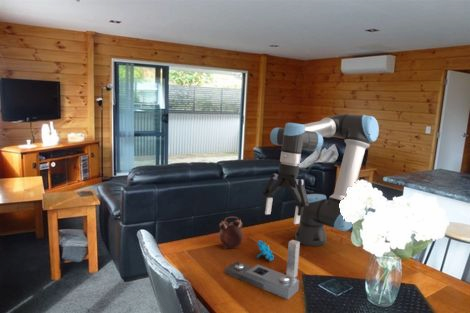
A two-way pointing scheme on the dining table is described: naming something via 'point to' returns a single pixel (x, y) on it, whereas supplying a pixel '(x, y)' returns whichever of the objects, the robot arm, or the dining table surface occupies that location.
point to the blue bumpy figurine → (265, 250)
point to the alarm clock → (231, 233)
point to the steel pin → (293, 258)
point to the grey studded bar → (265, 279)
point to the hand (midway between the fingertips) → (281, 218)
